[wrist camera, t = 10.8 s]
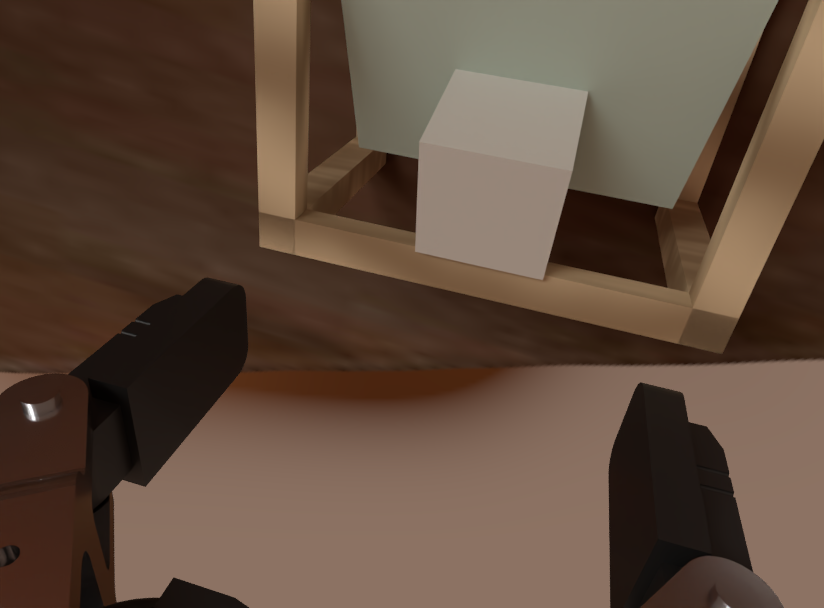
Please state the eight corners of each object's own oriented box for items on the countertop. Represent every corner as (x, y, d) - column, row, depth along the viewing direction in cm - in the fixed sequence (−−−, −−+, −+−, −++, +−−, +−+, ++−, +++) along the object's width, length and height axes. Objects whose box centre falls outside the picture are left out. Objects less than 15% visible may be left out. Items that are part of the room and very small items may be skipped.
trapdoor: (323, -157, 19) (311, -143, 18) (834, -100, 17) (837, -83, 16) (357, 131, 29) (350, 145, 28) (683, 193, 26) (682, 211, 26)
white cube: (455, 69, 23) (419, 141, 20) (588, 91, 22) (572, 171, 19) (446, 176, 27) (415, 251, 24) (560, 198, 26) (542, 280, 23)
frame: (381, -173, 28) (246, -243, 18) (817, -128, 25) (974, -181, 14) (360, 158, 37) (259, 246, 26) (684, 223, 33) (721, 353, 23)
